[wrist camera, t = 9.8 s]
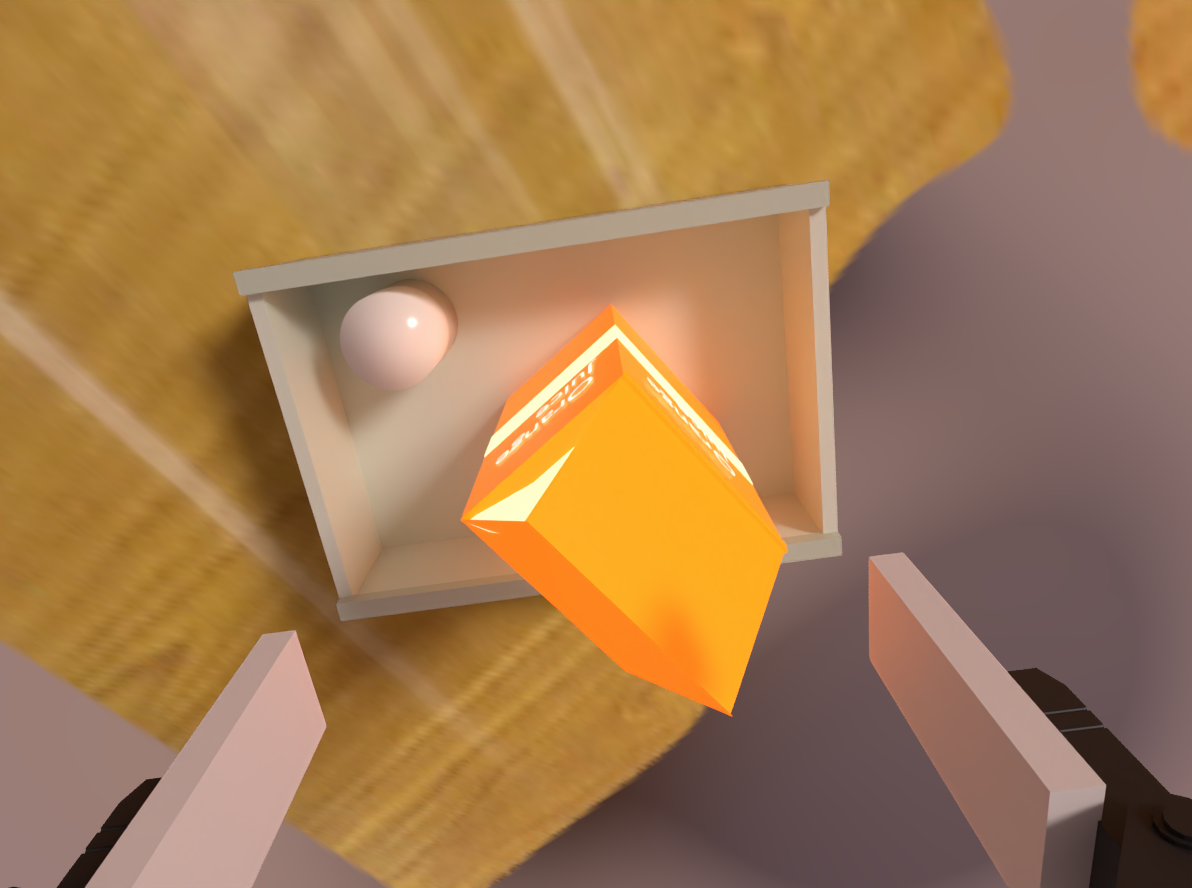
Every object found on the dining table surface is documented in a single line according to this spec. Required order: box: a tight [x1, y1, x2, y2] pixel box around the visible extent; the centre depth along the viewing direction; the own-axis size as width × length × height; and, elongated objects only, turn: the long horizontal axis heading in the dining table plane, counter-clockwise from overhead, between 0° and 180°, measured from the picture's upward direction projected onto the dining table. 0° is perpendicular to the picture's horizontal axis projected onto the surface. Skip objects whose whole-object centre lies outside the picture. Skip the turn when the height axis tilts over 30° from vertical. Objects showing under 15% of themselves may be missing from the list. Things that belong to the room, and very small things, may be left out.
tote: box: [233, 180, 842, 621], centre depth 36 cm, size 25×17×6 cm
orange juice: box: [460, 305, 788, 716], centre depth 29 cm, size 8×9×20 cm
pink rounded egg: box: [340, 279, 458, 390], centre depth 35 cm, size 4×4×5 cm
